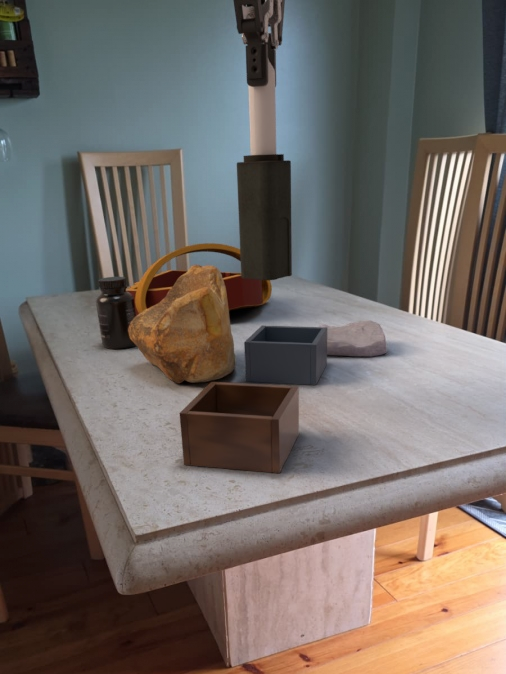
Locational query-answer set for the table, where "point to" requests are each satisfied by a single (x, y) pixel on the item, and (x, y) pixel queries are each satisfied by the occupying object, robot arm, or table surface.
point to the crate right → (286, 354)
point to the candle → (264, 193)
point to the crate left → (240, 426)
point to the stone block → (356, 339)
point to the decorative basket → (158, 286)
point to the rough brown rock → (189, 329)
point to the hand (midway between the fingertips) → (262, 87)
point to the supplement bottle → (115, 312)
